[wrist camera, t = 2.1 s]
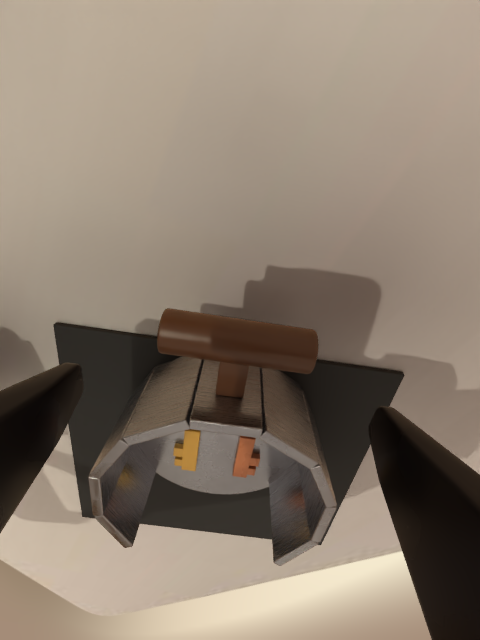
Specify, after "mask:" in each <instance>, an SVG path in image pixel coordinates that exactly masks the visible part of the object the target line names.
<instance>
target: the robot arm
mask: <svg viewBox="0 0 480 640" xmlns="http://www.w3.org/2000/svg"><path fill="white" fill-rule="evenodd" d="M83 389H84V384H83V375H82V368H81V366H80V365H79V364H74V363H63V364H61V365H59V366H56V367H54V368H52V369H49V370H47V371H45V372H43V373H40V374H38V375H36V376H33V377H31V378H29V379H26V380H24V381H22V382H20V383H17V384H15V385H13V386H10V387H8V388H6V389H4V390H1V391H0V533H1V531H2V530H3V528H4V527H5V525H6V523H7V522H8V520H9V519H10V517H11V516H12V514H13V512H14V511H15V509H16V508H17V506H18V505H19V503H20V501H21V500H22V498H23V497H24V495H25V494H26V492H27V490H28V489H29V487H30V486H31V484H32V483H33V481H34V479H35V478H36V476H37V475H38V473H39V472H40V470H41V468H42V467H43V465H44V464H45V462H46V461H47V459H48V457H49V456H50V454H51V453H52V451H53V450H54V448H55V446H56V445H57V443H58V441H59V439H60V438H61V436H62V434H63V432H64V430H65V428H66V426H67V424H68V422H69V420H70V418H71V416H72V414H73V412H74V410H75V408H76V406H77V404H78V402H79V399H80V397H81V395H82V393H83ZM368 433H369V437H370V442H371V446H372V451H373V455H374V460H375V464H376V469H377V473H378V477H379V481H380V485H381V488H382V491H383V494H384V497H385V500H386V503H387V506H388V509H389V512H390V515H391V518H392V521H393V524H394V527H395V530H396V533H397V536H398V539H399V542H400V545H401V548H402V551H403V554H404V557H405V560H406V563H407V566H408V569H409V572H410V575H411V578H412V581H413V584H414V587H415V590H416V593H417V596H418V599H419V602H420V605H421V608H422V611H423V614H424V617H425V620H426V623H427V626H428V629H429V632H430V635H431V638H432V640H480V475H479V474H478V473H477V472H476V471H474V470H473V469H472V468H470V467H469V466H468V465H467V464H465V463H464V462H463V461H461V460H460V459H459V458H457V457H456V456H455V455H454V454H452V453H451V452H450V451H448V450H447V449H446V448H445V447H443V446H442V445H441V444H439V443H438V442H437V441H435V440H434V439H433V438H432V437H430V436H429V435H428V434H426V433H425V432H424V431H423V430H421V429H420V428H419V427H417V426H416V425H415V424H414V423H412V422H411V421H410V420H408V419H407V418H406V417H405V416H403V415H402V414H401V413H399V412H398V411H397V410H395V409H394V408H392V407H385V406H379V407H378V408H377V409H376V411H375V413H374V415H373V417H372V420H371V422H370V424H369V427H368Z"/></svg>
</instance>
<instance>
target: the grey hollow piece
mask: <svg viewBox="0 0 480 640" xmlns="http://www.w3.org/2000/svg"><path fill="white" fill-rule="evenodd" d="M157 348H158V352H159V353H161V354H168V355H175V356H182V357H180V358H177V359H174V360H171V361H168V362H165V363H162V364H158V365H157V367H154V368H153V369H152V371H151V372H150V373H149V374H148V376H147V377H146V378H145V379H144V381H143V382H142V383H141V384H140V385H139V387H138V388H137V389H136V390H135V392H134V393H133V394H132V395H131V396H130V398H129V400H128V402H127V404H126V406H125V408H124V410H123V412H122V413H121V415H120V417H119V419H118V421H117V423H116V425H115V427H114V428H113V430H112V432H111V434H110V436H109V438H108V440H107V442H106V443H105V445H104V447H103V449H102V451H101V453H100V455H99V457H98V459H97V460H96V462H95V464H94V466H93V468H92V470H91V472H90V474H89V477H88V478H89V486H90V494H91V503H92V511H93V515H95V519H96V520H97V521H98V522H99V523H100V524H101V525H102V526H103V527H104V528H105V529H106V530H107V531H108V532H109V533H110V534H111V535H112V536H113V537H114V538H115V539H116V540H117V541H118V542H119V543H120V544H121V545H122V546H123V547H124V548H127V547H132V546H133V543H134V540H135V537H136V534H137V530H138V527H139V524H140V521H141V518H142V514H143V511H144V508H145V505H146V502H147V499H148V495H149V492H150V489H151V486H152V483H153V479H154V476H155V473H158V474H159V475H160V476H162V477H164V478H165V479H167V480H169V481H171V482H173V483H175V484H177V485H180V486H182V487H185V488H188V489H191V490H195V491H199V492H205V493H211V494H241V493H247V492H253V491H257V490H260V489H264V488H266V487H269V492H270V509H271V526H272V543H273V560H274V563H275V564H277V565H279V566H281V565H283V564H285V563H286V562H288V561H290V560H292V559H293V558H295V557H297V556H299V555H300V554H302V553H304V552H305V551H307V550H309V549H311V548H312V547H314V546H316V545H318V542H321V539H322V537H323V535H324V533H325V531H326V529H327V527H328V525H329V523H330V521H331V519H332V517H333V515H334V513H335V511H336V506H337V503H336V500H335V496H334V492H333V488H332V484H331V480H330V476H329V473H328V469H327V465H326V461H325V457H324V453H323V449H322V445H321V442H320V438H319V434H318V430H317V426H316V422H315V419H314V417H313V414H312V411H311V409H310V406H309V404H308V401H307V398H306V396H305V393H304V390H303V388H302V387H301V386H300V384H299V383H297V382H296V381H294V380H293V379H291V378H290V377H289V376H287V375H286V374H284V373H283V372H281V371H288V372H295V373H303V374H310V373H311V372H312V371H313V369H314V366H315V364H316V360H317V355H318V336H317V333H316V331H314V330H312V329H306V328H299V327H292V326H285V325H278V324H272V323H265V322H258V321H251V320H244V319H238V318H231V317H224V316H217V315H211V314H204V313H197V312H190V311H183V310H177V309H170V308H167V309H165V310H164V312H163V314H162V317H161V320H160V323H159V328H158V335H157ZM280 370H281V371H280ZM189 429H192V430H200V431H201V434H200V442H199V450H198V458H197V466H196V471H188V470H182V469H181V466H175V465H174V461H175V456H173V452H174V445H175V443H179V444H184V433H185V430H189ZM240 436H245V437H253V438H256V440H255V444H254V449H253V453H256V454H260V462H259V466H258V467H256V471H255V475H254V476H253V475H247V477H246V478H243V477H236V476H232V473H233V467H234V462H235V457H236V452H237V447H238V442H239V438H240Z"/></svg>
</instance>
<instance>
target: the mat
mask: <svg viewBox="0 0 480 640" xmlns="http://www.w3.org/2000/svg"><path fill="white" fill-rule="evenodd" d="M54 331H55V338H56V345H57V351H58V358H59V364H60V365H61V364H63V363H74V364H79V365H80V366H81V368H82V375H83V384H84V389H83V393H82V395H81V397H80V399H79V402H78V404H77V406H76V408H75V410H74V412H73V414H72V416H71V418H70V420H69V422H68V424H69V431H70V437H71V444H72V451H73V457H74V464H75V471H76V477H77V484H78V490H79V497H80V504H81V510H82V517H89V518H95V515H93V511H92V503H91V494H90V486H89V478H88V477H89V474H90V472H91V470H92V468H93V466H94V464H95V462H96V460H97V459H98V457H99V455H100V453H101V451H102V449H103V447H104V445H105V443H106V442H107V440H108V438H109V436H110V434H111V432H112V430H113V428H114V427H115V425H116V423H117V421H118V419H119V417H120V415H121V413H122V412H123V410H124V408H125V406H126V404H127V402H128V400H129V398H130V396H131V395H132V394H133V393H134V392H135V390H136V389H137V388H138V387H139V385H140V384H141V383H142V382H143V381H144V379H145V378H146V377H147V376H148V374H149V373H150V372H151V371H152V369H153V368H154V367H157V365H158V364H162V363H165V362H168V361H171V360H174V359H177V358H180V357H182V356H175V355H168V354H161V353H159V352H158V348H157V337H154V336H147V335H140V334H133V333H126V332H119V331H112V330H105V329H98V328H91V327H85V326H78V325H71V324H64V323H55V324H54ZM280 371H281V370H280ZM281 372H283V373H284V374H286V375H287V376H289V377H290V378H291V379H293V380H294V381H296V382H297V383H299V384H300V386H301V387H302V388H303V390H304V393H305V396H306V398H307V401H308V404H309V406H310V409H311V411H312V414H313V417H314V419H315V422H316V426H317V430H318V434H319V438H320V442H321V445H322V449H323V453H324V457H325V461H326V465H327V469H328V473H329V476H330V480H331V484H332V488H333V492H334V496H335V500H336V503H337V506H336V511H335V513H334V515H333V517H332V519H331V521H330V523H329V525H328V527H327V529H326V531H325V533H324V535H323V537H322V539H321V542H318V545H321V544H322V542H323V540H324V538H325V536H326V534H327V532H328V530H329V528H330V525H331V523H332V521H333V519H334V517H335V515H336V513H337V511H338V509H339V507H340V505H341V503H342V501H343V499H344V497H345V495H346V493H347V491H348V489H349V487H350V485H351V483H352V481H353V479H354V477H355V475H356V473H357V471H358V469H359V466H360V464H361V462H362V460H363V458H364V456H365V454H366V452H367V450H368V448H369V446H370V444H371V442H370V437H369V433H368V427H369V424H370V422H371V420H372V417H373V415H374V413H375V411H376V409H377V408H378V407H379V406H385V407H389V405H390V403H391V401H392V399H393V397H394V395H395V393H396V391H397V389H398V387H399V385H400V383H401V381H402V379H403V377H404V374H403V372H398V371H391V370H384V369H377V368H370V367H363V366H356V365H349V364H342V363H335V362H328V361H321V360H316V364H315V366H314V369H313V371H312V372H311V373H310V374H303V373H295V372H288V371H281ZM140 524H148V525H156V526H164V527H173V528H181V529H189V530H198V531H206V532H215V533H223V534H231V535H240V536H248V537H256V538H265V539H272V526H271V509H270V492H269V487H266V488H264V489H260V490H257V491H253V492H247V493H241V494H211V493H205V492H199V491H195V490H191V489H188V488H185V487H182V486H180V485H177V484H175V483H173V482H171V481H169V480H167V479H165V478H164V477H162V476H160V475H159V474H158V473H155V476H154V479H153V483H152V486H151V489H150V492H149V495H148V499H147V502H146V505H145V508H144V511H143V514H142V518H141V521H140Z"/></svg>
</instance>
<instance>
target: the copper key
mask: <svg viewBox="0 0 480 640" xmlns="http://www.w3.org/2000/svg"><path fill="white" fill-rule="evenodd" d="M255 440H256V438H253V437H245V436H240V438H239V442H238V447H237V452H236V457H235V462H234V467H233V473H232V476H236V477H243V478H246V477H247V475H253V476H254V475H255V471H256V467H258V466H259V462H260V454H256V453H253V449H254V444H255Z"/></svg>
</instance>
